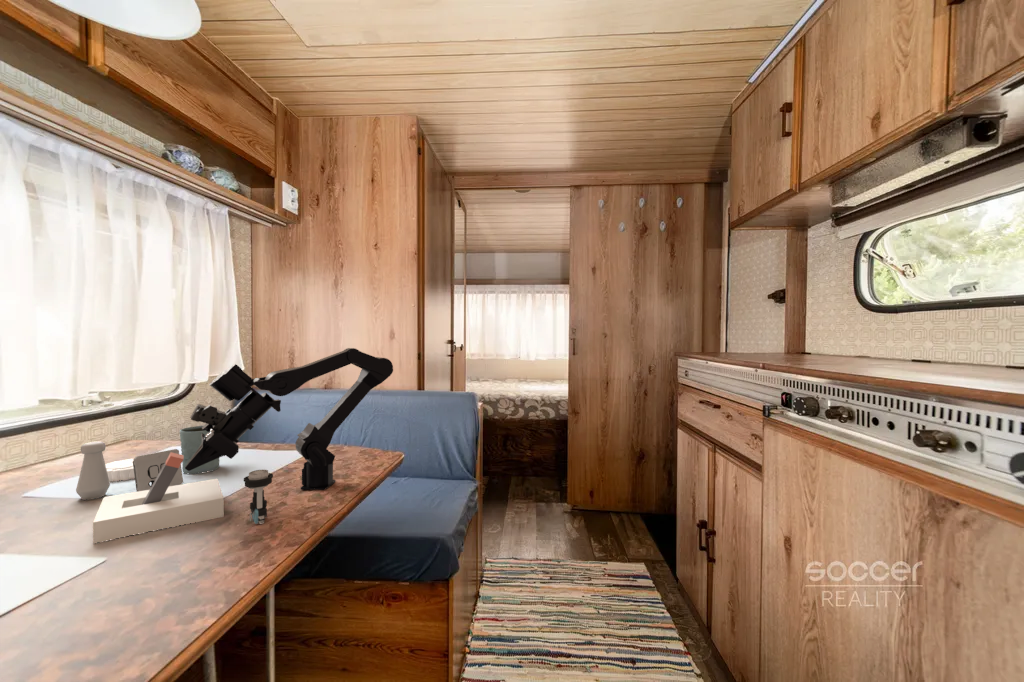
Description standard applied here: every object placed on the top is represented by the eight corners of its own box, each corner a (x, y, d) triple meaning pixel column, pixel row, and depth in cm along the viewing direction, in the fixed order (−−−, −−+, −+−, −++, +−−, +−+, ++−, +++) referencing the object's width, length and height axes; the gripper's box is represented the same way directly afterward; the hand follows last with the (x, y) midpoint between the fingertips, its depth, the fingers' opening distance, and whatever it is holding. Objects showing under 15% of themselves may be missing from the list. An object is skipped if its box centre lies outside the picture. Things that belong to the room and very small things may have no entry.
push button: (276, 522, 88) (276, 474, 88) (246, 529, 85) (246, 479, 85) (270, 512, 94) (270, 466, 94) (241, 518, 90) (241, 471, 90)
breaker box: (217, 495, 104) (217, 478, 104) (223, 516, 91) (223, 497, 91) (103, 515, 92) (103, 497, 91) (93, 544, 79) (93, 522, 79)
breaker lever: (155, 505, 92) (183, 455, 95) (155, 510, 89) (183, 459, 92) (142, 502, 91) (170, 452, 94) (141, 508, 88) (170, 455, 91)
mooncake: (86, 480, 115) (86, 466, 115) (136, 467, 127) (136, 455, 127) (116, 484, 112) (116, 470, 112) (165, 471, 123) (165, 458, 123)
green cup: (175, 476, 118) (175, 433, 118) (183, 466, 127) (183, 426, 127) (220, 471, 122) (220, 429, 122) (224, 462, 131) (224, 423, 131)
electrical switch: (139, 496, 103) (137, 457, 104) (129, 494, 106) (128, 456, 106) (184, 484, 111) (182, 448, 112) (174, 483, 114) (172, 448, 114)
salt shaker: (114, 494, 104) (114, 441, 104) (83, 503, 99) (83, 446, 98) (102, 491, 106) (102, 438, 106) (71, 499, 101) (71, 443, 101)
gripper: (213, 387, 104) (154, 439, 98) (220, 395, 90) (151, 456, 83) (251, 416, 109) (196, 467, 102) (263, 428, 95) (201, 489, 88)
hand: (186, 469), depth 94 cm, fingers closed
